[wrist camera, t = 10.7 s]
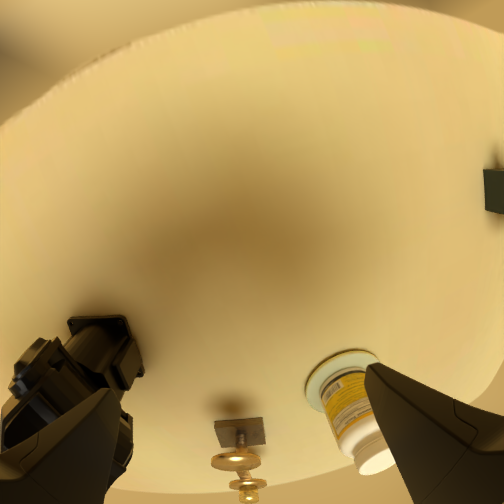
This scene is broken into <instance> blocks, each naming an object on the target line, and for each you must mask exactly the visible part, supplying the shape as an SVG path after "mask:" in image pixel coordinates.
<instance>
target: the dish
mask: <svg viewBox="0 0 504 504" xmlns="http://www.w3.org/2000/svg"><path fill="white" fill-rule="evenodd" d="M376 362H379V361H378V359H377V358H376V357H375V356H374V355H373V354H371V353H369V352H365V351H350V352H346V353H342V354H339V355H337V356H335V357H333V358H331V359H329V360H327V361H326V362H325V363H323V364H322V365H321V366H320V367H318V368H317V369H316V370H315V371H314V373H313V374H312V375H311V377H310V378H309V380H308V383H307V386H306V397H307V400H308V403H309V404H310V406H311V407H312V408H313V409H315V410H316V411H319V412H321V413H325V412H324V409H323V407H322V404H321V401H320V397H319V394H320V390H321V388H322V386H323V384H324V383H325V382H326V381H327V379H329V378H330V377H331V376H332V375H334V374H335V373H337V372H339V371H341V370H344V369H347V368H354V367H356V368H362V369H364V370H366V367H367V365H369V364H372V363H376ZM379 363H380V362H379Z"/></svg>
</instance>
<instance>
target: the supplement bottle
mask: <svg viewBox="0 0 504 504" xmlns="http://www.w3.org/2000/svg"><path fill="white" fill-rule="evenodd" d="M365 373H366V370H364V369H362V368H356V367H354V368H347V369H344V370H341V371H339V372H337V373H335V374H334V375H332V376H331V377H330V378H329V379H327V381H326V382H325V383H324V384H323V386H322V388H321V390H320V394H319V397H320V401H321V404H322V407H323V409H324V412H325V414H326V417H327V419H328V422H329V424H330V427H331V429H332V432H333V434H334V437H335V439H336V442H337V444H338V447H339V449H340V451H341V453H342V454H343V455H345V456H347V457H350V458H354V462H355V465H356V466H357V469H358V471H359V473H360V474H362V475H371V474H375V473H378V472H381V471H383V470H385V469H387V468H388V467H390V466H392V465H393V464H395V463H396V462H395V460H394V458H393V456H392V454H391V451H390V449H389V447H388V445H387V443H386V441H385V439H384V437H383V435H382V432H381V430H380V428H379V426H378V424H377V422H376V419H375V417H374V414H373V411H372V408H371V405H370V402H369V399H368V396H367V393H366V390H365V387H364V379H365Z"/></svg>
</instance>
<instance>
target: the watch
mask: <svg viewBox="0 0 504 504" xmlns="http://www.w3.org/2000/svg"><path fill="white" fill-rule="evenodd" d="M483 173H484V187H485V210H487V211H491V212H495V213H500V214H504V169H483Z"/></svg>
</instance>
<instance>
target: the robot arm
mask: <svg viewBox="0 0 504 504" xmlns="http://www.w3.org/2000/svg"><path fill="white" fill-rule="evenodd" d="M119 320H121V321H122V322H123V323H121V322H120V321H119ZM72 323H73V324H72ZM67 324H68V327H69V329H70V332H71V334H72V336H71V338H70V339H69V340H68V341H67V342H66V343H65V344H64V345H62V344H61V341H60V340H59V338H58V337H55V338H54V339H53V340H45V339H43V338H40V337H39V338H38V339H37V340H36V341H35V342H34V343H33V344H32V345H31V346H30V347H29V348H28V349H27V350H26V351H25V352H24V353H23V354H22V356H21V357H20V358H19V359H18V361H17V362H16V363H15V364H14V376H13V378H12V381H11V383H10V385H9V387H8V389H9V390H10V392H11V393H12V394H13V395H12V396H11V397H10V398H9V399H8V400H7V402H6V403H5V404H4V405H3V407H2V410H1V422H0V504H103V503H104V498H105V494H106V492H107V491H108V489H109V488H110V486H111V485H112V484H113V483H114V481H115V480H116V479H117V478H118V477H119V476H121V475H122V474H123V473H124V472H125V471H126V467H127V465H128V464H129V462H130V460H131V458H132V454H133V448H134V445H133V417H131V416H130V415H129V414H128V413H125V412H124V411H123V410H122V409H121V404H120V401H121V399H122V397H123V395H124V392H125V391H129V390H130V388H131V386H132V384H133V381H134V379H135V377H143V376H144V373H145V371H144V368H143V366H142V359H141V357H140V354H139V351H138V348H137V345H136V343H135V340H134V339H133V338H132V335H131V332H130V329H129V326H128V323H127V320H126V318H125V317H124V316H122V315H115V316H93V317H70V318H69V319H68V320H67ZM138 371H139V372H140V373H139V372H138ZM364 387H365V390H366V393H367V396H368V399H369V402H370V405H371V408H372V411H373V414H374V417H375V419H376V422H377V424H378V426H379V428H380V430H381V432H382V435H383V437H384V439H385V441H386V443H387V445H388V447H389V449H390V451H391V454H392V456H393V458H394V460H395V462H396V464H397V467H398V469H399V471H400V473H401V475H402V478H403V480H404V482H405V484H406V487H407V489H408V491H409V493H410V496H411V498H412V500H413V502H414V504H504V416H501V415H498V414H494V413H491V412H488V411H484V410H481V409H479V408H475V407H473V406H470V405H468V404H465V403H463V402H461V401H459V400H456V399H453V398H452V397H450V396H447V395H445V394H443V393H441V392H439V391H437V390H435V389H432V388H430V387H428V386H426V385H424V384H422V383H420V382H418V381H416V380H414V379H412V378H409V377H407V376H405V375H403V374H401V373H399V372H397V371H395V370H393V369H391V368H389V367H387V366H385V365H383V364H381V363H379V362H376V363H372V364H369V365H367V367H366V373H365V379H364Z"/></svg>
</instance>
